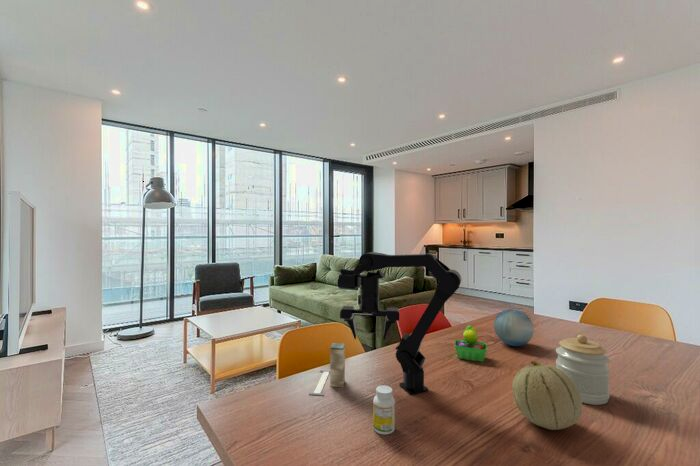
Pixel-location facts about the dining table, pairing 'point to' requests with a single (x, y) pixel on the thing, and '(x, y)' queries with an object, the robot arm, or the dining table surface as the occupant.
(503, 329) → the decorative ball
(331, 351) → the beige tall block
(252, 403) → the dining table surface
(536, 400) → the cantaloupe
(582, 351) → the jar
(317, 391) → the tape line
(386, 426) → the supplement bottle
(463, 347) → the fruit basket
